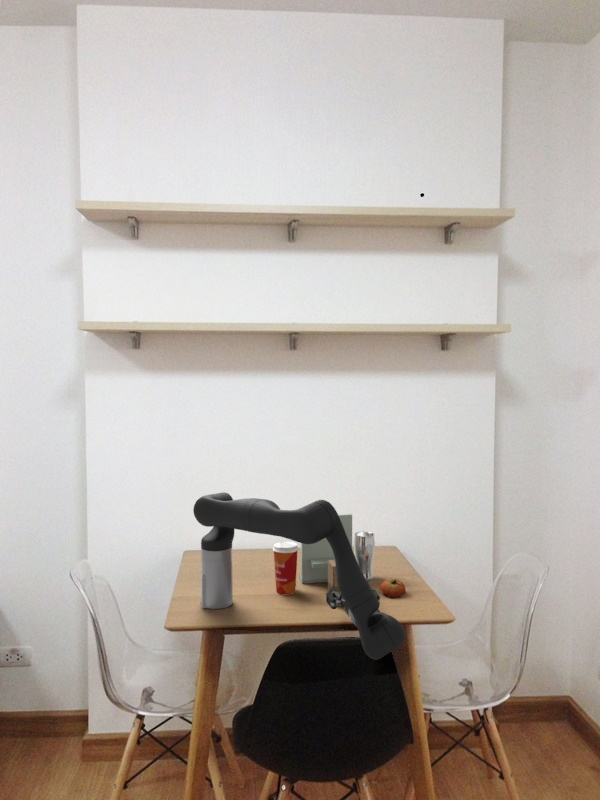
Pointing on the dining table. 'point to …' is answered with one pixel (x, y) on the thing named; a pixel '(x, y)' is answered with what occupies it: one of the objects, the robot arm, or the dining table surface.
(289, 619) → the dining table surface
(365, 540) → the beer glass
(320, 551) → the wall board
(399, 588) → the tomato
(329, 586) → the cabinet
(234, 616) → the dining table surface
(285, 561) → the coffee cup
